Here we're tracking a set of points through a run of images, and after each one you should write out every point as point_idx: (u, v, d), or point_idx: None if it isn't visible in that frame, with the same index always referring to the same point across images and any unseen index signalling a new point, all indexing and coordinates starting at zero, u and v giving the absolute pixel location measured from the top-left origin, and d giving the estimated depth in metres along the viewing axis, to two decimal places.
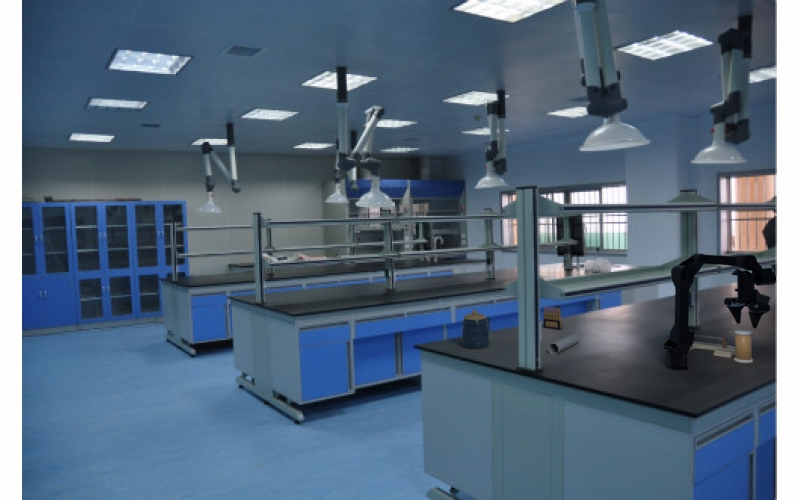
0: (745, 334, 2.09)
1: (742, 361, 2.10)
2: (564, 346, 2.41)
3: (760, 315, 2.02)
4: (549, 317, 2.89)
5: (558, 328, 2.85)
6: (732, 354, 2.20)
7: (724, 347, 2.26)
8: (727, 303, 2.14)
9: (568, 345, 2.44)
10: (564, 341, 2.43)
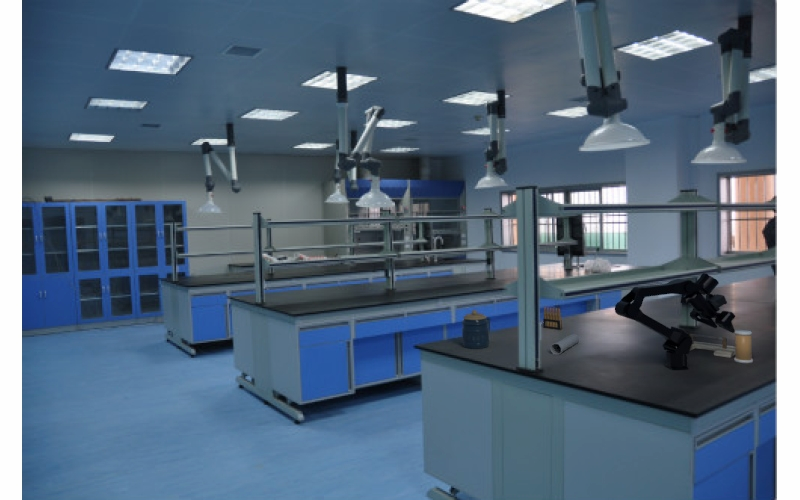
0: (745, 334, 2.09)
1: (742, 361, 2.10)
2: (566, 346, 2.40)
3: (730, 321, 2.03)
4: (549, 317, 2.89)
5: (558, 328, 2.85)
6: (732, 354, 2.20)
7: (724, 347, 2.26)
8: (695, 318, 2.16)
9: (569, 345, 2.44)
10: (565, 341, 2.42)
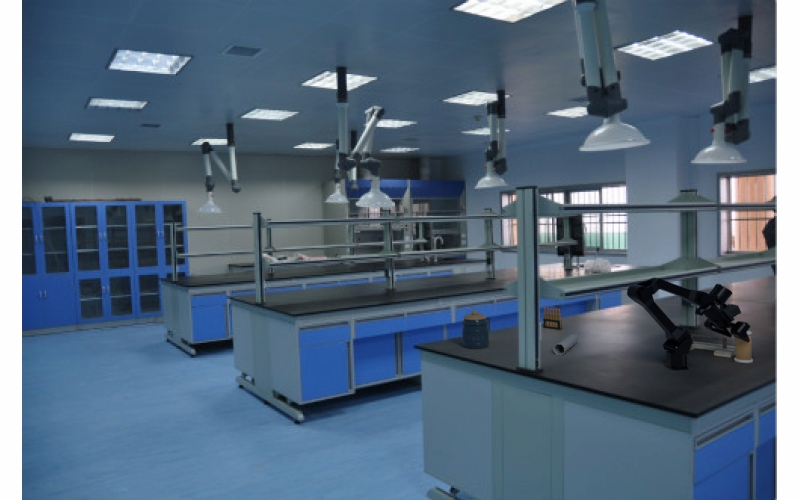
0: None
1: (742, 361, 2.10)
2: (568, 346, 2.40)
3: None
4: (549, 317, 2.89)
5: (558, 328, 2.85)
6: (732, 354, 2.20)
7: (724, 347, 2.26)
8: (709, 328, 2.17)
9: (571, 345, 2.44)
10: (567, 341, 2.42)
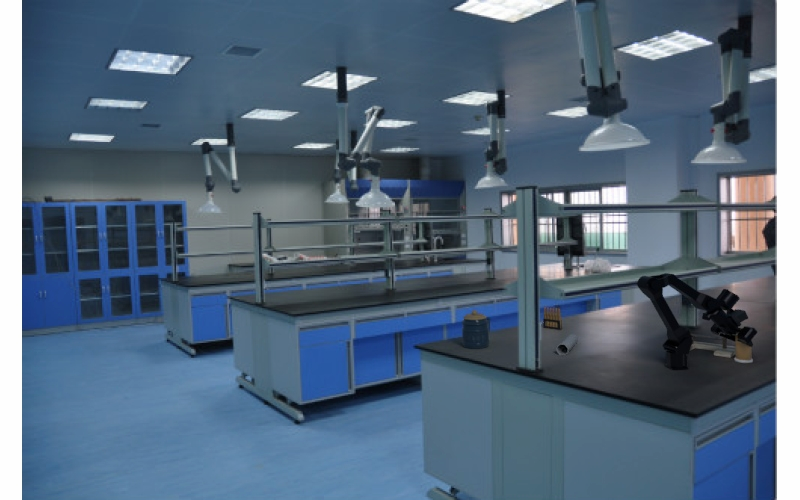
0: None
1: (742, 361, 2.10)
2: (570, 346, 2.40)
3: None
4: (549, 317, 2.89)
5: (558, 328, 2.85)
6: (732, 354, 2.20)
7: (724, 347, 2.26)
8: (716, 333, 2.17)
9: (572, 345, 2.43)
10: (569, 341, 2.42)
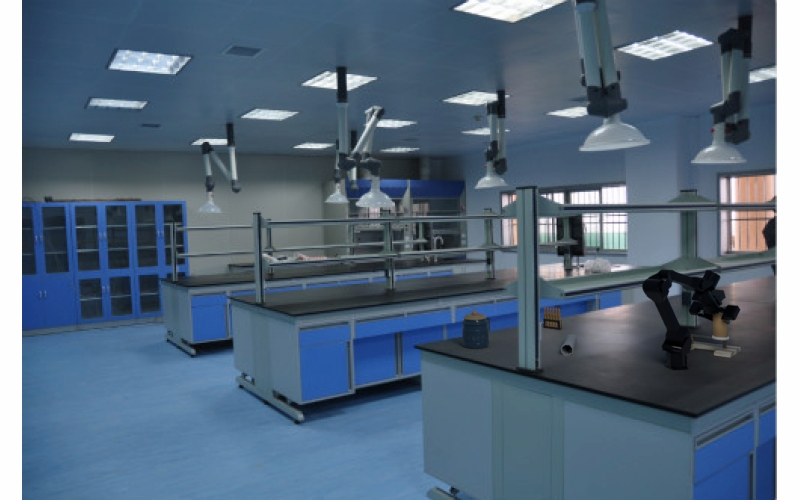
0: None
1: (722, 338, 2.19)
2: (573, 346, 2.39)
3: None
4: (549, 317, 2.89)
5: (558, 328, 2.85)
6: (732, 354, 2.20)
7: (724, 347, 2.26)
8: (695, 314, 2.24)
9: (574, 345, 2.43)
10: (572, 341, 2.41)
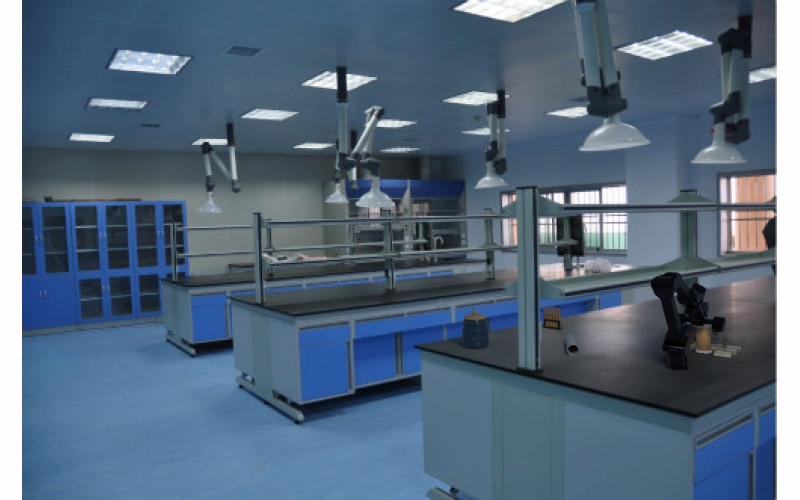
0: (709, 327, 2.25)
1: (707, 352, 2.25)
2: (577, 346, 2.39)
3: None
4: (549, 317, 2.89)
5: (558, 328, 2.85)
6: (732, 354, 2.20)
7: (724, 347, 2.26)
8: None
9: (577, 345, 2.43)
10: (575, 341, 2.41)
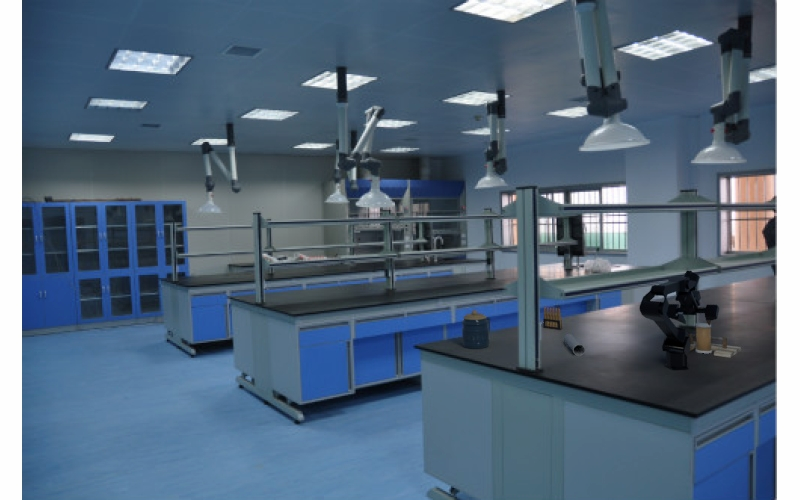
0: (708, 327, 2.25)
1: (707, 352, 2.25)
2: None
3: None
4: (549, 317, 2.89)
5: (558, 328, 2.85)
6: (732, 354, 2.20)
7: (724, 347, 2.26)
8: (673, 317, 2.21)
9: None
10: None
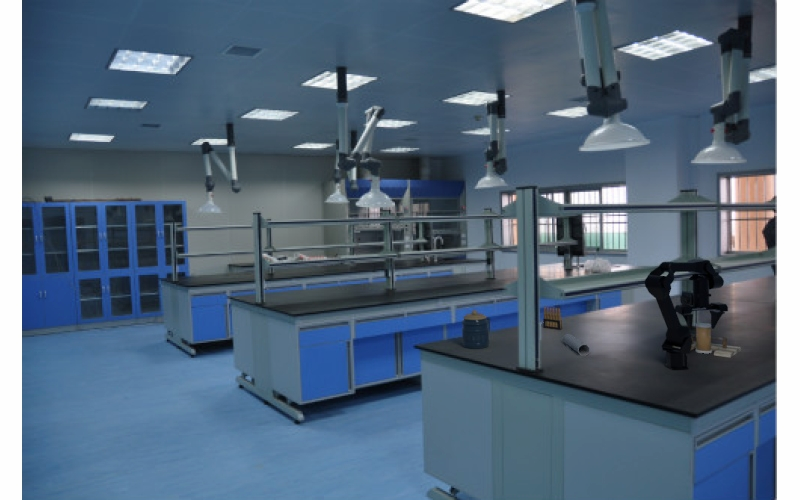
0: (709, 327, 2.25)
1: (707, 352, 2.25)
2: None
3: None
4: (549, 317, 2.89)
5: (558, 328, 2.85)
6: (732, 354, 2.20)
7: (724, 347, 2.26)
8: (689, 311, 2.10)
9: None
10: None
